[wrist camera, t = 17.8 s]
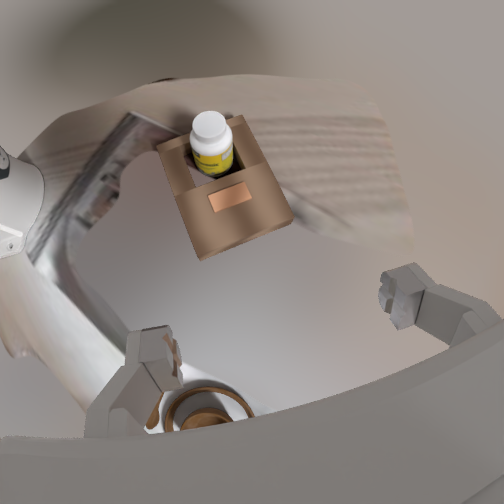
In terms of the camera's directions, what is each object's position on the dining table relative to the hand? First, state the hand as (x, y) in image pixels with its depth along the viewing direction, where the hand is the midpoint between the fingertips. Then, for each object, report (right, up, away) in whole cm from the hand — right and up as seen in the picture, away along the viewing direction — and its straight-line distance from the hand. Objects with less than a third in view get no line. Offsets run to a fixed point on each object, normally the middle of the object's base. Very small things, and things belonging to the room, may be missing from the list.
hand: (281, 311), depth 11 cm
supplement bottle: (-6, +15, +33) cm, 37 cm away
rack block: (-5, +11, +32) cm, 35 cm away
